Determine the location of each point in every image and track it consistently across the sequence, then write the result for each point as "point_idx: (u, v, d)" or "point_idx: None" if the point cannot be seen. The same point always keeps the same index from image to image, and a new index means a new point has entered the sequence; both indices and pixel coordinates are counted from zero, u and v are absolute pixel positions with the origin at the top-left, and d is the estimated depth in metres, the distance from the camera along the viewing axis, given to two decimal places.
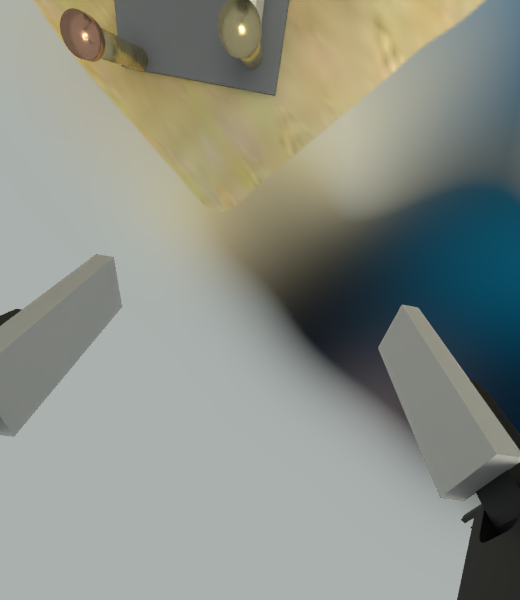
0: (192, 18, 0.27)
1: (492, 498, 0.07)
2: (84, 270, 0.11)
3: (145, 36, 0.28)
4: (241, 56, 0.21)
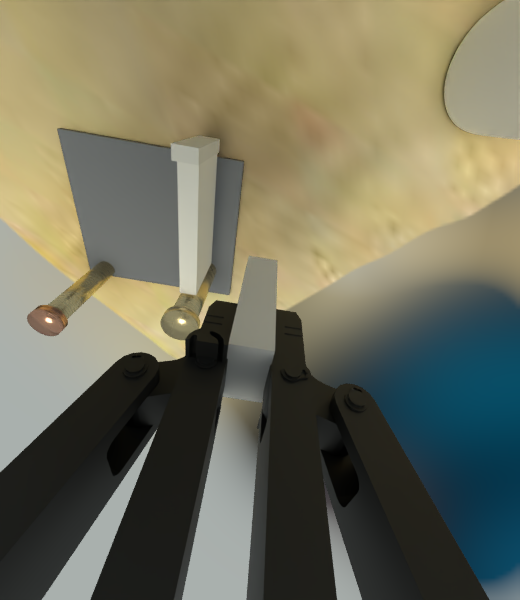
0: (151, 246, 0.31)
1: (264, 390, 0.09)
2: (252, 269, 0.13)
3: (111, 255, 0.32)
4: (183, 339, 0.24)
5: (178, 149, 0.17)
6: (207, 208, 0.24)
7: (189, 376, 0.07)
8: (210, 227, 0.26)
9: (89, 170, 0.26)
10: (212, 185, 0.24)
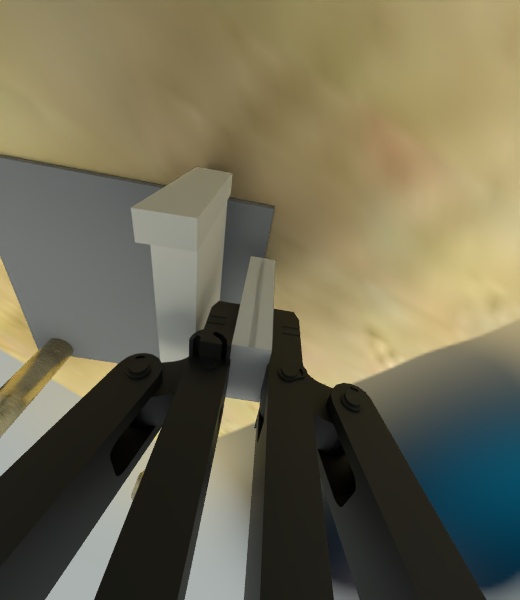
0: (126, 322, 0.20)
1: (262, 390, 0.09)
2: (255, 269, 0.13)
3: (66, 331, 0.21)
4: None
5: (149, 220, 0.08)
6: (212, 292, 0.14)
7: (192, 376, 0.07)
8: None
9: (21, 216, 0.16)
10: (219, 250, 0.14)
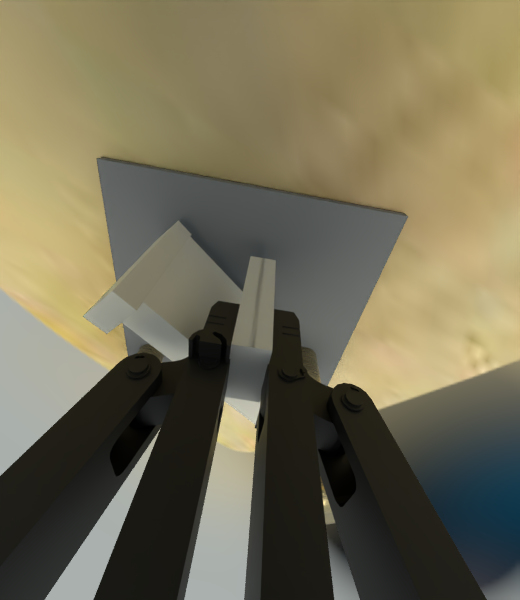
0: None
1: (262, 390, 0.09)
2: (254, 269, 0.13)
3: None
4: None
5: (97, 315, 0.10)
6: None
7: (192, 376, 0.07)
8: None
9: (145, 224, 0.16)
10: (215, 280, 0.15)
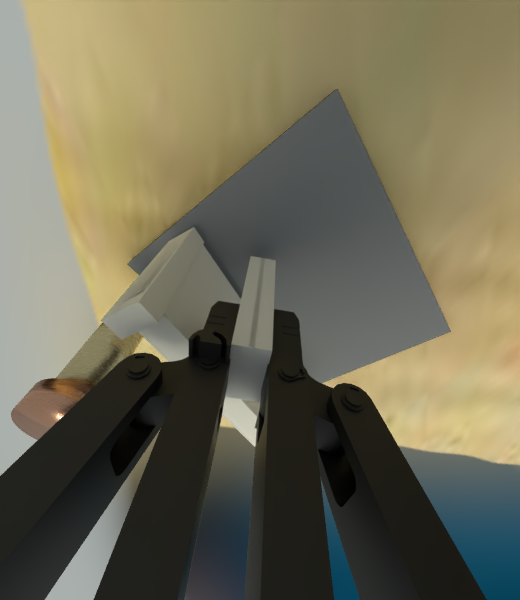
0: None
1: (262, 390, 0.09)
2: (254, 269, 0.13)
3: None
4: None
5: (116, 321, 0.10)
6: None
7: (192, 376, 0.07)
8: None
9: (303, 179, 0.14)
10: (221, 290, 0.15)
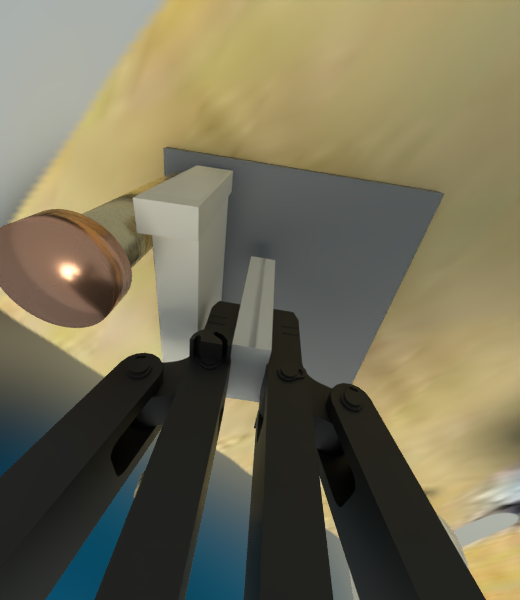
0: (240, 289, 0.18)
1: (261, 390, 0.09)
2: (255, 269, 0.13)
3: None
4: None
5: (151, 210, 0.08)
6: (213, 288, 0.14)
7: (193, 376, 0.08)
8: None
9: (371, 226, 0.16)
10: (221, 247, 0.14)
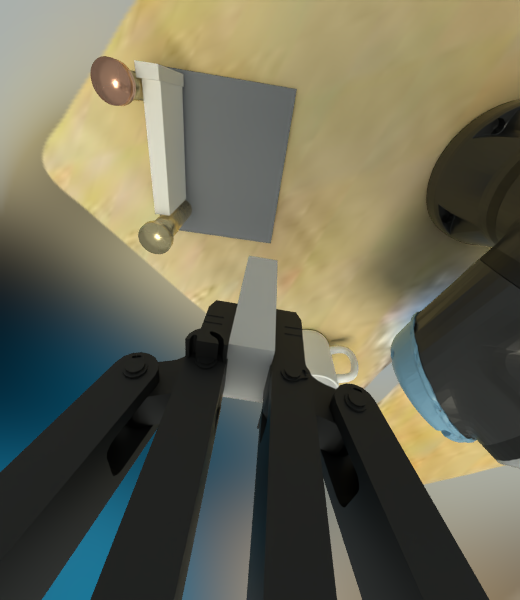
0: (196, 157, 0.32)
1: (264, 390, 0.09)
2: (252, 269, 0.13)
3: None
4: (139, 239, 0.27)
5: (141, 66, 0.21)
6: (175, 135, 0.27)
7: (189, 376, 0.07)
8: (181, 159, 0.30)
9: (263, 111, 0.29)
10: (179, 116, 0.28)
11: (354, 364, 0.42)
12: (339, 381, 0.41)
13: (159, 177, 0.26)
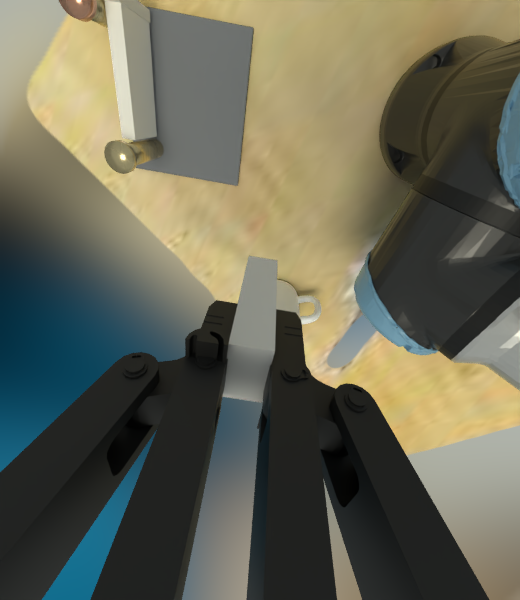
0: (165, 95, 0.35)
1: (265, 390, 0.09)
2: (252, 269, 0.13)
3: None
4: (106, 158, 0.30)
5: None
6: (141, 65, 0.30)
7: (189, 376, 0.07)
8: (149, 93, 0.33)
9: (223, 49, 0.32)
10: (145, 50, 0.30)
11: (317, 308, 0.45)
12: (301, 322, 0.43)
13: (124, 100, 0.29)
